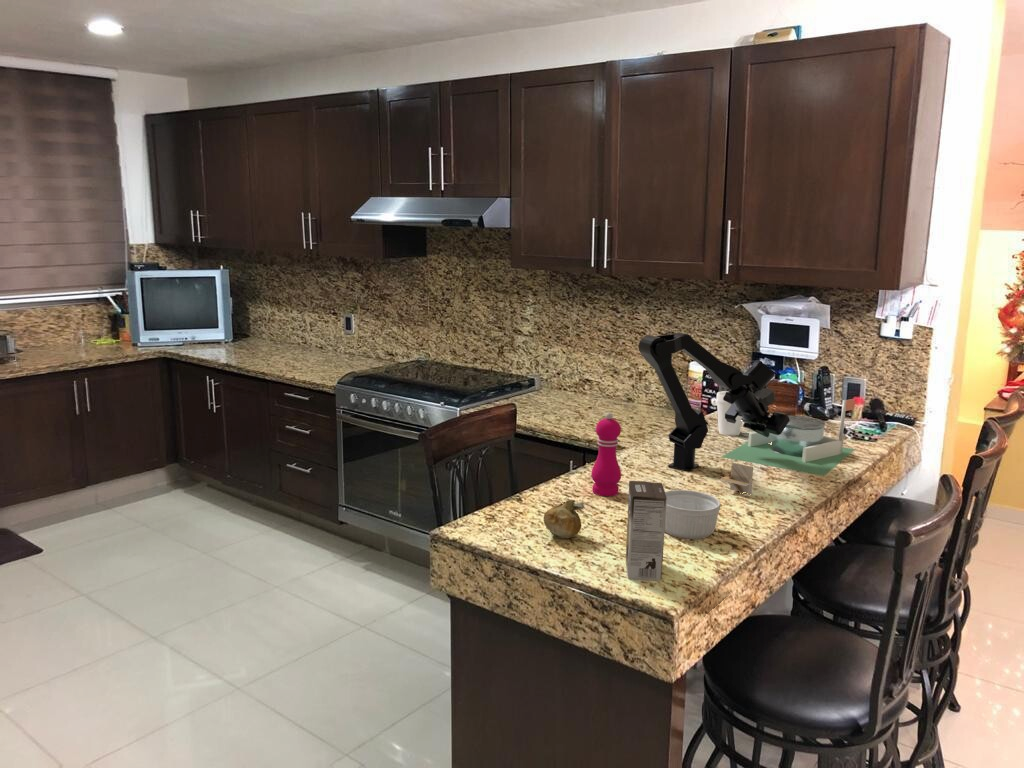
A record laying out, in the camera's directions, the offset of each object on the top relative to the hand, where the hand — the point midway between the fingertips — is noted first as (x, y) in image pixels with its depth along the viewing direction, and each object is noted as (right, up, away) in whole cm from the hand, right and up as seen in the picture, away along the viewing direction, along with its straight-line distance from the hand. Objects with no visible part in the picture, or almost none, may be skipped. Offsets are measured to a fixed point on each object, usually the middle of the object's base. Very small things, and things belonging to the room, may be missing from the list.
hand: (767, 435), depth 229 cm
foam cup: (-4, -1, +27) cm, 27 cm away
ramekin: (-36, -17, -58) cm, 70 cm away
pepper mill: (-51, -12, -34) cm, 63 cm away
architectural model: (-17, -13, -32) cm, 39 cm away
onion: (-63, -17, -63) cm, 91 cm away
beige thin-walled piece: (+12, -5, +9) cm, 16 cm away
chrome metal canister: (+11, -5, +7) cm, 14 cm away
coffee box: (-49, -20, -79) cm, 95 cm away
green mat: (+8, -6, +5) cm, 11 cm away
